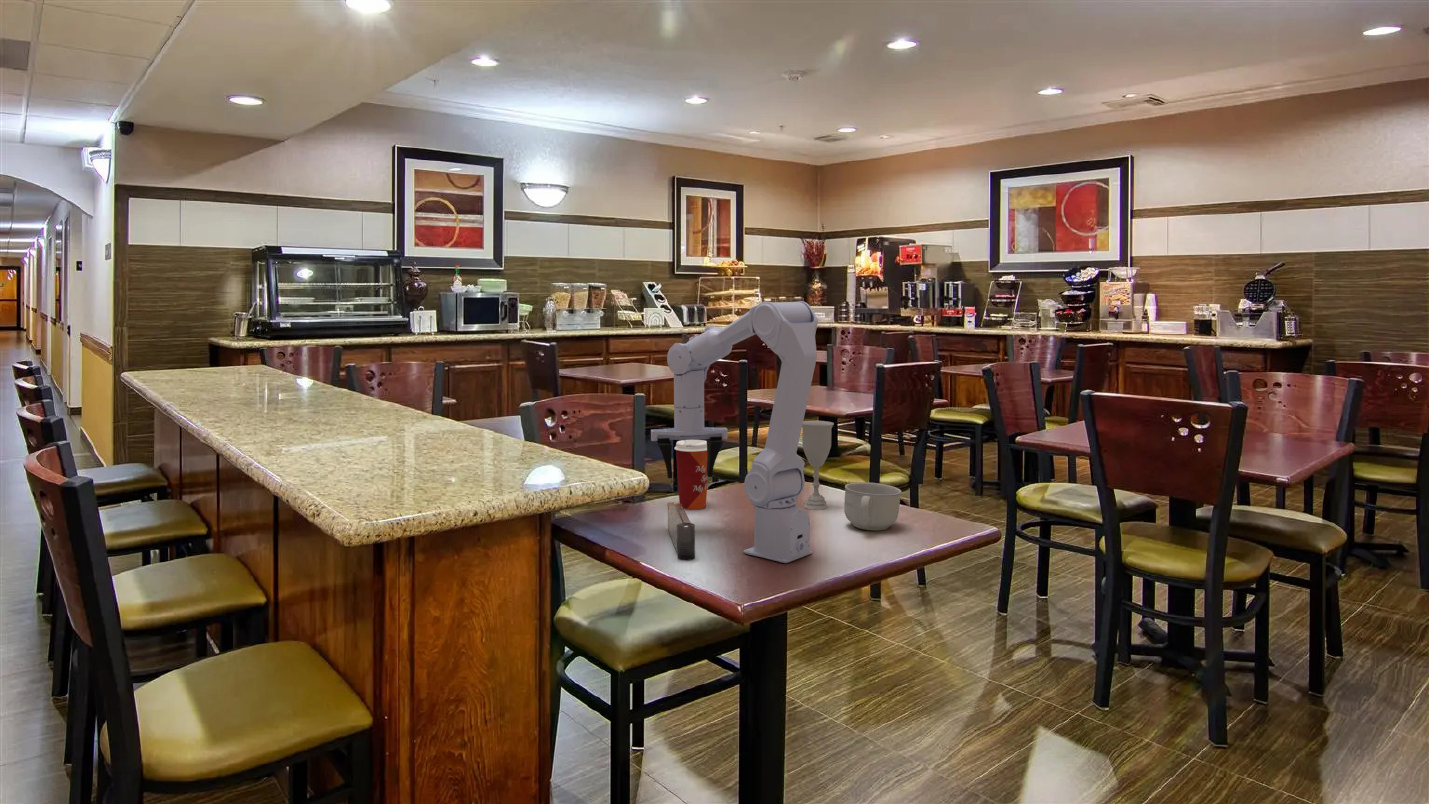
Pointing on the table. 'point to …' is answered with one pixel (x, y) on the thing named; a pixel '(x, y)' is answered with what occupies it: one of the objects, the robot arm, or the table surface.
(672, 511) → the tongs moving arm
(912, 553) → the table surface
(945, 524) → the table surface
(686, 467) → the paper cup
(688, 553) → the tongs fixed arm
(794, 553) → the robot arm
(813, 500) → the chalice
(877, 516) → the teacup
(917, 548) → the table surface
